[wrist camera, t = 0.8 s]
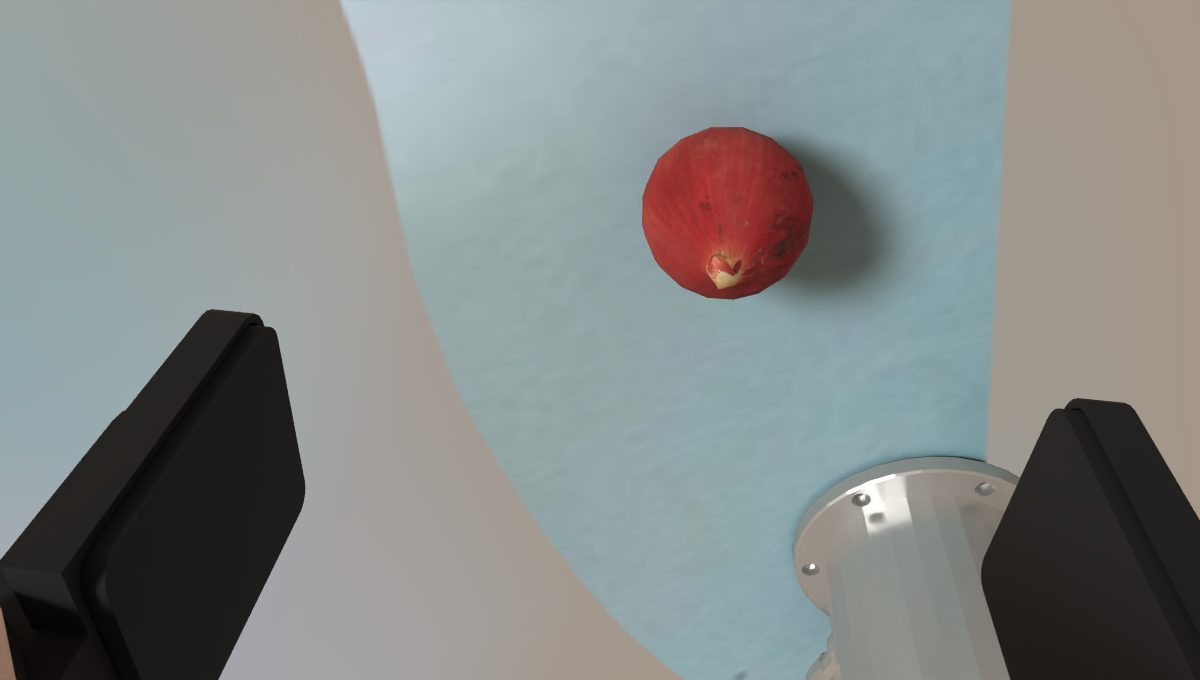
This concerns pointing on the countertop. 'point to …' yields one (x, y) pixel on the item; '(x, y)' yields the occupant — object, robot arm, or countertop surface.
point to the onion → (727, 212)
